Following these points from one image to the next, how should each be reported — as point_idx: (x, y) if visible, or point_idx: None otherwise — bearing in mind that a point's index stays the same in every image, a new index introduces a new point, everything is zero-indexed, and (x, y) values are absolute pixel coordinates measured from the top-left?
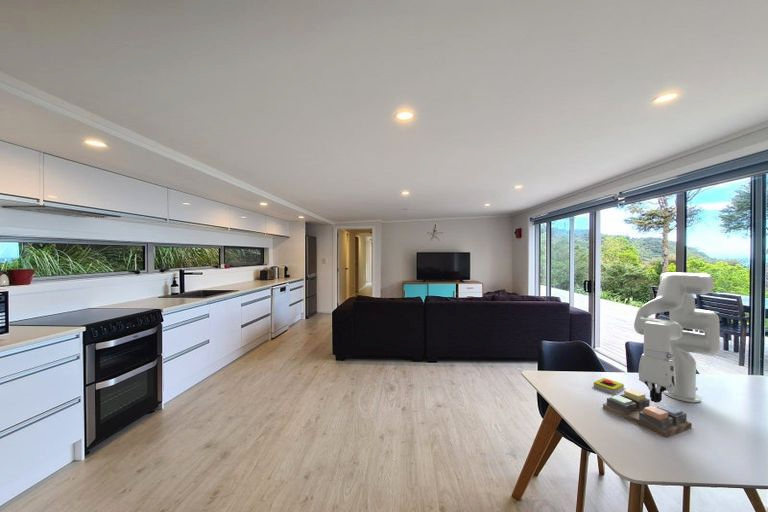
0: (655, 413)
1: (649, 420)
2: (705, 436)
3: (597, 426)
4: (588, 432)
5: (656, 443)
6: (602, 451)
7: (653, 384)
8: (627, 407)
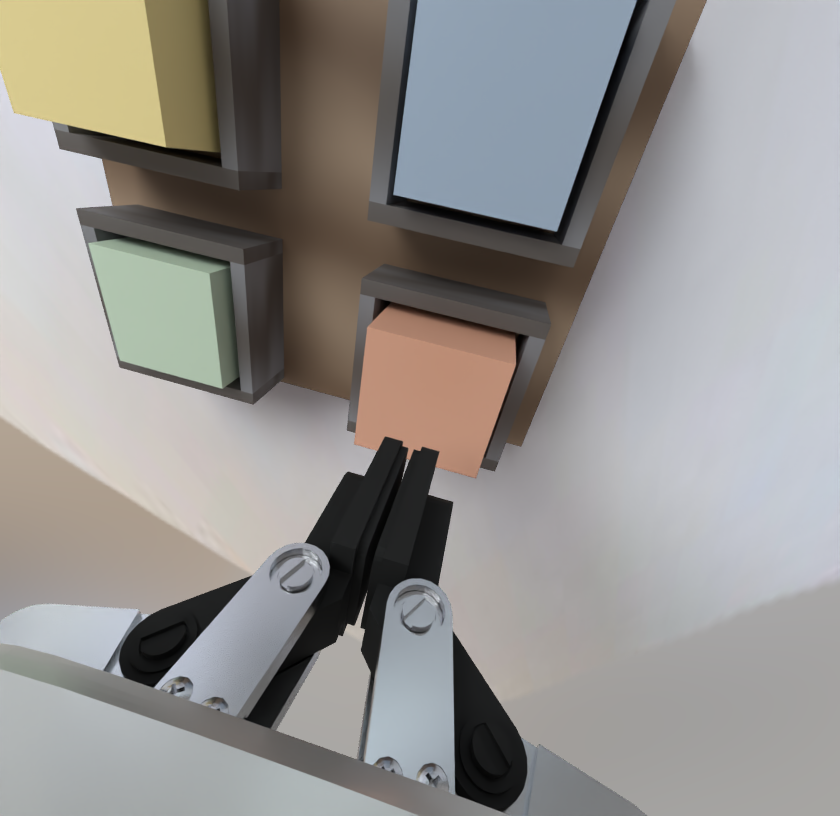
0: (442, 464)
1: None
2: (785, 125)
3: (295, 540)
4: None
5: (495, 515)
6: None
7: (256, 657)
8: (260, 375)
